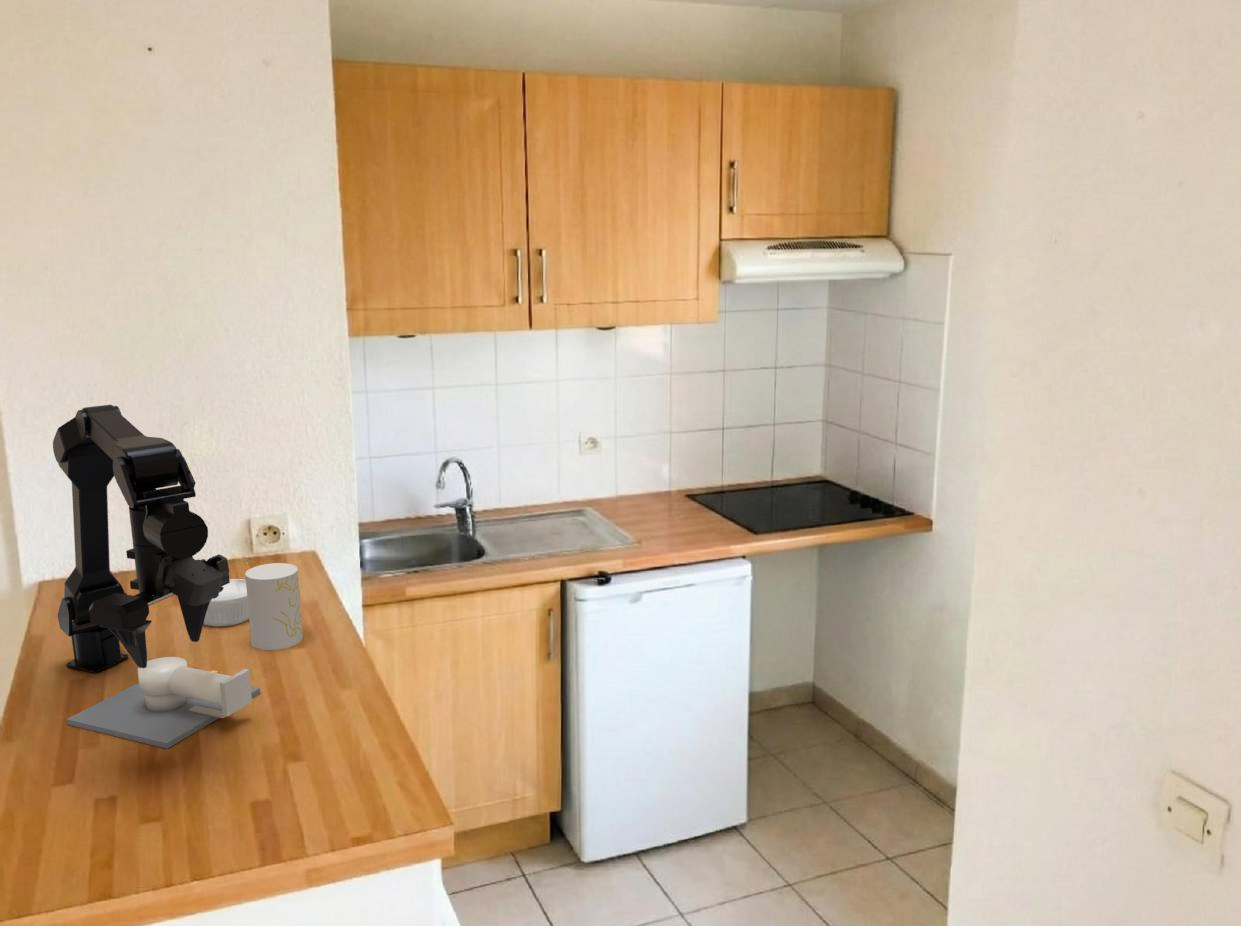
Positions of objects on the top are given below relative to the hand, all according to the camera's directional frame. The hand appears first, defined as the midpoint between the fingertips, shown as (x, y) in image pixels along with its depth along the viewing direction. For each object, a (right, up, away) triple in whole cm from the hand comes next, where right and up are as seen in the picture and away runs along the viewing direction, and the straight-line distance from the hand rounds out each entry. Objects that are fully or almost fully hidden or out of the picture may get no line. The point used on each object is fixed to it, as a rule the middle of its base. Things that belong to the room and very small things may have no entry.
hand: (169, 654), depth 141 cm
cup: (+3, -4, +36) cm, 37 cm away
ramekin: (-9, -2, +46) cm, 47 cm away
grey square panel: (-4, -10, +13) cm, 16 cm away
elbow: (-1, -8, +10) cm, 13 cm away
